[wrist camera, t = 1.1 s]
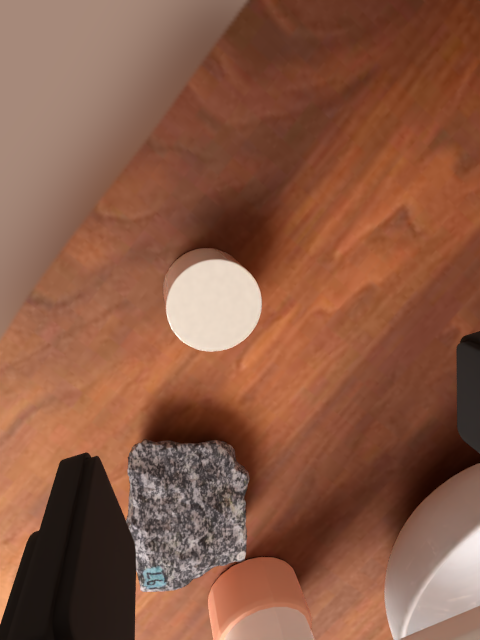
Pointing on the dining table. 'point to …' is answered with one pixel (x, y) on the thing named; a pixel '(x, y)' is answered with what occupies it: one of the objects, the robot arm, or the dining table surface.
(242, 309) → the white cylinder puck
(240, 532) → the rock
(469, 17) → the dining table surface
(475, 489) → the serving bowl
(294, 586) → the pepper shaker
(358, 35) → the dining table surface
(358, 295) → the dining table surface
